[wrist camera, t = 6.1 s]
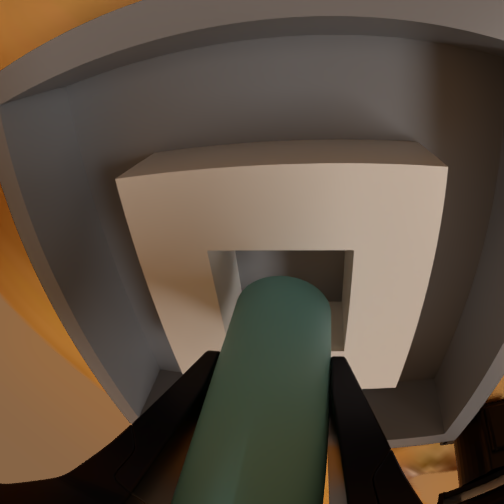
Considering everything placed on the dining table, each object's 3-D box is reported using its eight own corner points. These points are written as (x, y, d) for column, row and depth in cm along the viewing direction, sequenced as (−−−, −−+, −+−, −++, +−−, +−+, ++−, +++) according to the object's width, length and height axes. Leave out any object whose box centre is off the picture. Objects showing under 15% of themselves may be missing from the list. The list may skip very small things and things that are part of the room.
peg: (328, 347, 11) (303, 603, 4) (242, 343, 12) (174, 582, 4) (333, 276, 10) (309, 620, 2) (229, 274, 10) (117, 577, 3)
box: (442, 376, 18) (455, 439, 13) (155, 366, 22) (129, 422, 18) (510, 36, 7) (588, 39, 3) (58, 68, 11) (-22, 86, 7)
